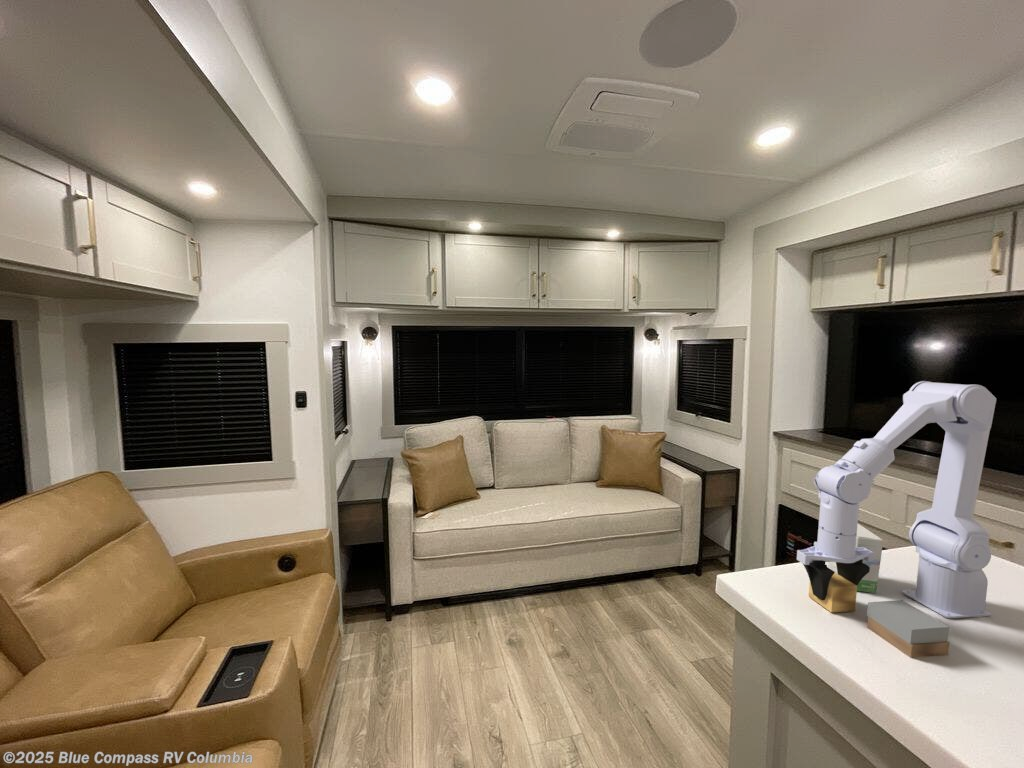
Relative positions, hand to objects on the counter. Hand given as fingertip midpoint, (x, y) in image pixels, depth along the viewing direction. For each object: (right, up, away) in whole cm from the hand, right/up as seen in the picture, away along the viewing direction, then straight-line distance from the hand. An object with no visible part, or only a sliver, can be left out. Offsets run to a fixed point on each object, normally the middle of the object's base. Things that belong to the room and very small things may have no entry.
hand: (831, 596), depth 77 cm
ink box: (+11, -1, +8) cm, 14 cm away
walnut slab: (+5, -3, -9) cm, 11 cm away
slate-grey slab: (+5, 0, -9) cm, 11 cm away
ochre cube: (0, -1, 0) cm, 1 cm away
